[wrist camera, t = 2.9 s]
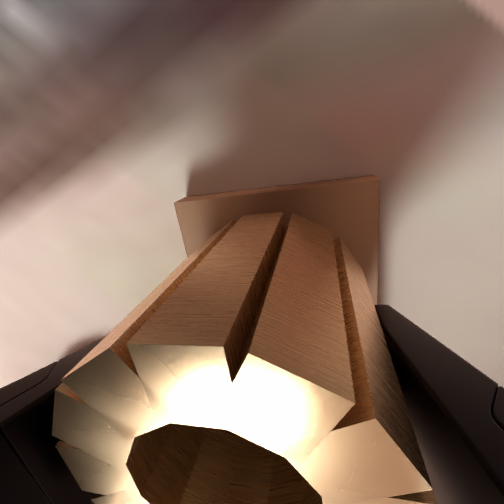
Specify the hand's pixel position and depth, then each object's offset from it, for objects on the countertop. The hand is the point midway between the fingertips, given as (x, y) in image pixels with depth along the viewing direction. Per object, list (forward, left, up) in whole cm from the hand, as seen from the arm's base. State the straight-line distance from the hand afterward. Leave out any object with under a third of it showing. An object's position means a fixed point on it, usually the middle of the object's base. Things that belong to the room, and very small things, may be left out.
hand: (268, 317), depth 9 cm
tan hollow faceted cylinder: (0, 0, -1) cm, 1 cm away
